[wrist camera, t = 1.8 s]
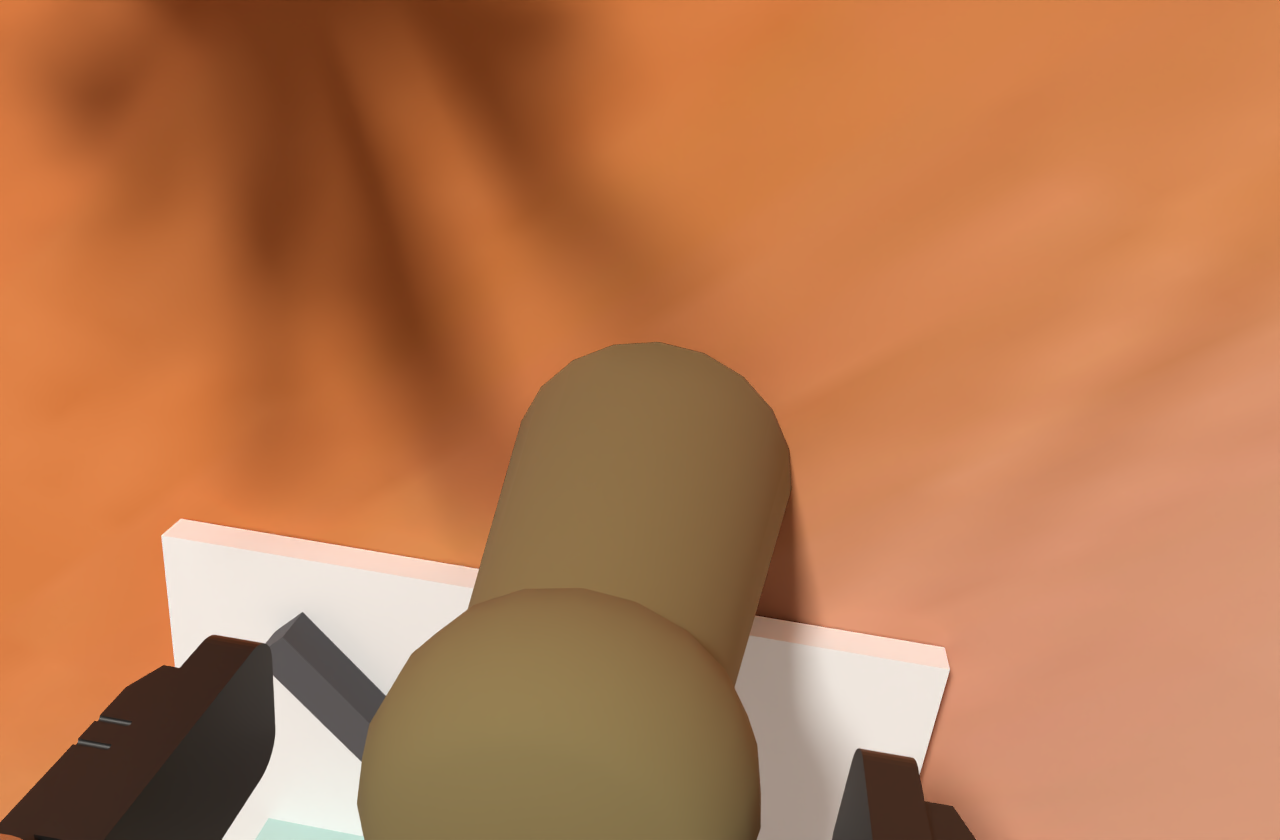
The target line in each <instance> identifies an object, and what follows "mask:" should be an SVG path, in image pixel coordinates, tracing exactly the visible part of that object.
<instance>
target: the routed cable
mask: <svg viewBox="0 0 1280 840" xmlns="http://www.w3.org/2000/svg"><path fill="white" fill-rule="evenodd" d="M265 644H267V645H268V646H269V647H270V649H271V653H272V665H273V676H274V677H275V678H276V679H277V680H278V681H279V682H280V683H281V684H282V685H283V686H284V687H285V688H286V689H287V690H288V691H289V692H290V693H291V694H292V695H294V696H295V697H296V698H297V699H298V700H299V701H300V702H301V703H302V704H303V705H304V706H305V707H306V708H307V709H308V710H309V711H310V712H311V713H312V714H313V715H314V716H315V717H316V718H317V719H318V720H319V721H320V722H321V723H322V724H323V725H324V726H325V727H326V728H327V729H328V730H329V731H330V732H331V733H332V734H333V735H334V736H335V737H336V738H337V739H338V740H339V741H341V742H342V743H343V744H344V745H345V746H346V747H347V748H348V749H349V750H350V751H351V752H352V753H353V754H354V755H355V756H356V757H357V758H358V759H359V760H360V761H361V762H362V756H363V752H364V747H365V742H366V737H367V733H368V728H369V724H370V722H371V721H372V719H373V717H374V715H375V714H376V712H377V710H378V709H379V707H380V705H381V704H382V702H383V700H384V699H385V697H386V695H385V694H384V693H383V692H382V691H381V690H380V689H379V688H378V687H377V686H376V685H375V684H374V683H373V682H372V681H371V680H370V679H369V678H368V677H367V676H366V675H365V674H364V673H363V672H362V671H361V670H360V669H359V668H358V667H357V666H356V665H355V664H354V663H353V662H352V661H351V660H350V659H349V658H348V657H347V656H346V655H345V654H344V653H343V652H342V651H341V650H340V649H339V648H338V647H337V646H336V645H335V644H334V643H333V642H332V641H331V640H330V639H329V638H328V637H327V636H326V635H325V634H324V633H323V632H322V631H321V630H320V629H319V628H318V627H317V626H316V625H315V624H314V623H313V622H312V621H311V620H310V619H309V618H308V617H307V616H306V615H305V614H304V613H303V612H302V613H300V614H299V615H297V616H296V617H295V618H293V619H292V620H290V621H289V622H288V623H286V624H285V625H283V626H282V627H281V628H279V629H278V630H276V631H275V632H274V633H273V635H272V636H271V637H270V638H269V640H268V641H267V642H266V643H265Z"/></svg>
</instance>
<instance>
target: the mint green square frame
mask: <svg viewBox="0 0 1280 840" xmlns="http://www.w3.org/2000/svg"><path fill="white" fill-rule="evenodd" d="M255 840H364V836H359V835H353V834H348V833H343V832H338V831H333V830H328V829H322V828H317V827H312V826H307V825H302V824H297V823H291V822H286V821H281V820H276V819H271V818H268V820H267V821H266V823H265V825H264V826H263V828H262V829H261V831H260V833H259V834H258V836H257V837H256V839H255Z"/></svg>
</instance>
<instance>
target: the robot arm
mask: <svg viewBox="0 0 1280 840" xmlns="http://www.w3.org/2000/svg"><path fill="white" fill-rule="evenodd" d="M274 741H275V707H274V686H273V665H272V653H271V649H270V647H269V646H268V645H267V644H265V643H260V642H255V641H249V640H243V639H237V638H232V637H226V636H220V635H211V636H209V637H207V638H206V639H205V640H204V641H203V642H202V643H201V644H200V645H199V646H198V647H197V649H196V650H195V651H194V652H193V653H192V654H191V655H190V657H189V658H188V659H187V660H186V661H185V662H184V663H183V665H182V666H181V667H180V668H176V667H171V666H165V665H163V666H161V667H160V668H158V669H156V670H155V671H153V672H151V673H149V674H148V675H146V676H144V677H143V678H141V679H139V680H138V681H136V682H134V683H132V684H131V685H129V686H127V687H126V688H125V689H124V690H123V691H122V692H121V693H120V694H119V695H118V696H117V698H116V699H115V700H114V701H113V702H112V703H111V704H110V705H109V706H108V707H107V708H106V709H105V710H104V712H103V713H102V714H101V715H100V718H99V720H98V721H94V722H93V723H92V724H91V725H90V727H89V728H88V729H87V730H86V731H85V732H84V733H83V734H82V735H81V736H80V737H79V738H78V743H77V744H76V745H72V746H71V747H70V748H69V749H68V750H67V751H66V752H65V753H64V755H63V756H62V757H61V758H60V759H59V760H58V761H57V762H56V763H55V764H54V765H53V766H52V767H51V768H50V770H49V771H48V772H47V773H46V774H45V775H44V776H43V777H42V778H41V779H40V780H39V781H38V782H37V784H36V785H35V786H34V787H33V788H32V789H31V790H30V791H29V792H28V793H27V794H26V795H25V796H24V797H23V799H22V800H21V801H20V802H19V803H18V804H17V805H16V806H15V807H14V808H13V809H12V810H11V811H10V813H9V814H8V815H7V816H6V817H5V818H4V819H3V820H2V821H1V822H0V840H222V838H223V837H224V835H225V834H226V832H227V831H228V829H229V828H230V826H231V825H232V823H233V821H234V820H235V818H236V817H237V815H238V814H239V812H240V811H241V809H242V808H243V806H244V805H245V803H246V801H247V800H248V798H249V797H250V795H251V794H252V792H253V791H254V789H255V788H256V786H257V785H258V783H259V781H260V780H261V778H262V776H263V775H264V773H265V771H266V768H267V766H268V764H269V761H270V758H271V754H272V751H273V747H274ZM832 840H976V839H975V838H974V836H973V835H972V833H971V832H970V830H969V829H968V828H967V826H966V825H965V823H964V822H963V820H962V819H961V817H960V816H959V815H958V813H957V812H956V810H955V809H954V807H953V806H948V805H942V804H937V803H931V802H925V801H924V796H923V791H922V785H921V780H920V775H919V770H918V765H917V762H916V760H915V759H914V758H912V757H907V756H901V755H895V754H889V753H884V752H878V751H872V750H866V749H861V748H858V749H857V750H856V751H855V753H854V756H853V759H852V762H851V766H850V770H849V774H848V778H847V781H846V785H845V789H844V793H843V797H842V801H841V804H840V808H839V812H838V816H837V820H836V824H835V827H834V831H833V836H832Z"/></svg>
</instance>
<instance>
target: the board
mask: <svg viewBox="0 0 1280 840" xmlns="http://www.w3.org/2000/svg"><path fill="white" fill-rule="evenodd" d="M161 536H162V546H163V555H164V565H165V575H166V584H167V594H168V604H169V613H170V623H171V633H172V642H173V652H174V661H175V667H176V668H180V667H181V666H182V665H183V663H184V662H185V661H186V660H187V659H188V658H189V657H190V655H191V654H192V653H193V652H194V651H195V650H196V649H197V647H198V646H199V645H200V644H201V643H202V642H203V641H204V640H205V639H206V638H207V637H209V636H211V635H220V636H226V637H232V638H237V639H243V640H249V641H255V642H260V643H266V642H267V641H268V640H269V638H270V637H271V636H272V635H273V633H274V632H275V631H276V630H278V629H279V628H281V627H282V626H283V625H285V624H286V623H288V622H289V621H290V620H292V619H293V618H295V617H296V616H297V615H299V614H300V613H302V612H303V613H304V614H305V615H306V616H307V617H308V618H309V619H310V620H311V621H312V622H313V623H314V624H315V625H316V626H317V627H318V628H319V629H320V630H321V631H322V632H323V633H324V634H325V635H326V636H327V637H328V638H329V639H330V640H331V641H332V642H333V643H334V644H335V645H336V646H337V647H338V648H339V649H340V650H341V651H342V652H343V653H344V654H345V655H346V656H347V657H348V658H349V659H350V660H351V661H352V662H353V663H354V664H355V665H356V666H357V667H358V668H359V669H360V670H361V671H362V672H363V673H364V674H365V675H366V676H367V677H368V678H369V679H370V680H371V681H372V682H373V683H374V684H375V685H376V686H377V687H378V688H379V689H380V690H381V691H382V692H383V693H384V694H385V695H387V694H388V692H389V690H390V689H391V687H392V685H393V683H394V682H395V680H396V678H397V677H398V675H399V674H400V672H401V670H402V669H403V667H404V665H405V664H406V662H407V660H408V659H409V657H410V655H411V654H412V653H413V652H414V651H415V650H417V649H418V648H419V647H420V646H421V645H423V644H424V643H425V642H426V641H427V640H428V639H430V638H431V637H432V636H433V635H434V634H436V633H437V632H438V631H440V630H441V629H442V628H444V627H445V626H446V625H448V624H449V623H450V622H452V621H453V620H454V619H456V618H457V617H458V616H459V615H461V614H462V613H463V612H465V611H466V610H467V609H468V606H469V602H470V599H471V595H472V592H473V588H474V585H475V581H476V578H477V575H478V571H479V569H476V568H470V567H464V566H459V565H453V564H447V563H441V562H435V561H429V560H423V559H417V558H411V557H405V556H399V555H393V554H387V553H381V552H375V551H370V550H364V549H358V548H352V547H346V546H340V545H334V544H328V543H322V542H316V541H310V540H304V539H298V538H292V537H286V536H280V535H275V534H269V533H263V532H257V531H251V530H245V529H239V528H233V527H227V526H221V525H215V524H209V523H203V522H197V521H191V520H186V519H180V520H179V521H178V522H176V523H175V524H174V525H173V526H172V527H171V528H169V529H168V530H167V531H166V532H165V533H164V534H162V535H161ZM949 671H950V668H949V664H948V659H947V655H946V651H945V647H939V646H933V645H927V644H921V643H915V642H910V641H904V640H898V639H892V638H886V637H880V636H874V635H868V634H862V633H856V632H850V631H844V630H838V629H832V628H826V627H821V626H815V625H809V624H803V623H797V622H791V621H785V620H779V619H773V618H767V617H761V616H755V618H754V621H753V625H752V628H751V632H750V635H749V639H748V642H747V646H746V649H745V653H744V656H743V660H742V663H741V667H740V670H739V674H738V677H737V681H736V684H735V690H736V692H737V694H738V696H739V698H740V700H741V702H742V705H743V707H744V709H745V711H746V713H747V715H748V718H749V721H750V724H751V727H752V730H753V733H754V736H755V739H756V742H757V747H758V760H759V773H760V787H761V829H760V832H759V834H758V837H757V840H832V836H833V831H834V827H835V824H836V820H837V816H838V812H839V808H840V804H841V801H842V797H843V793H844V789H845V785H846V781H847V778H848V774H849V770H850V766H851V762H852V759H853V756H854V753H855V751H856V750H857V749H858V748H861V749H866V750H872V751H878V752H884V753H889V754H895V755H901V756H907V757H912V758H914V759H915V760H916V762H917V765H918V770H919V775H920V772H921V768H922V765H923V761H924V758H925V754H926V751H927V747H928V744H929V740H930V737H931V734H932V730H933V727H934V723H935V720H936V716H937V713H938V709H939V706H940V702H941V699H942V695H943V692H944V689H945V685H946V682H947V678H948V675H949ZM273 686H274V707H275V741H274V747H273V751H272V754H271V758H270V761H269V764H268V766H267V768H266V771H265V773H264V775H263V776H262V778H261V780H260V781H259V783H258V785H257V786H256V788H255V789H254V791H253V792H252V794H251V795H250V797H249V798H248V800H247V801H246V803H245V805H244V806H243V808H242V809H241V811H240V812H239V814H238V815H237V817H236V818H235V820H234V821H233V823H232V825H231V826H230V828H229V829H228V831H227V832H226V834H225V835H224V837H223V838H222V840H255V839H256V837H257V836H258V834H259V833H260V831H261V829H262V828H263V826H264V825H265V823H266V821H267V820H268V818H271V819H276V820H281V821H286V822H291V823H297V824H302V825H307V826H312V827H317V828H322V829H328V830H333V831H338V832H343V833H348V834H353V835H359V836H363V832H362V827H361V822H360V817H359V812H358V808H357V797H358V789H359V780H360V772H361V763H362V762H361V761H360V760H359V759H358V758H357V757H356V756H355V755H354V754H353V753H352V752H351V751H350V750H349V749H348V748H347V747H346V746H345V745H344V744H343V743H342V742H341V741H339V740H338V739H337V738H336V737H335V736H334V735H333V734H332V733H331V732H330V731H329V730H328V729H327V728H326V727H325V726H324V725H323V724H322V723H321V722H320V721H319V720H318V719H317V718H316V717H315V716H314V715H313V714H312V713H311V712H310V711H309V710H308V709H307V708H306V707H305V706H304V705H303V704H302V703H301V702H300V701H299V700H298V699H297V698H296V697H295V696H294V695H292V694H291V693H290V692H289V691H288V690H287V689H286V688H285V687H284V686H283V685H282V684H281V683H280V682H279V681H278V680H277V679H276V678H275V677H274V676H273Z"/></svg>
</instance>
